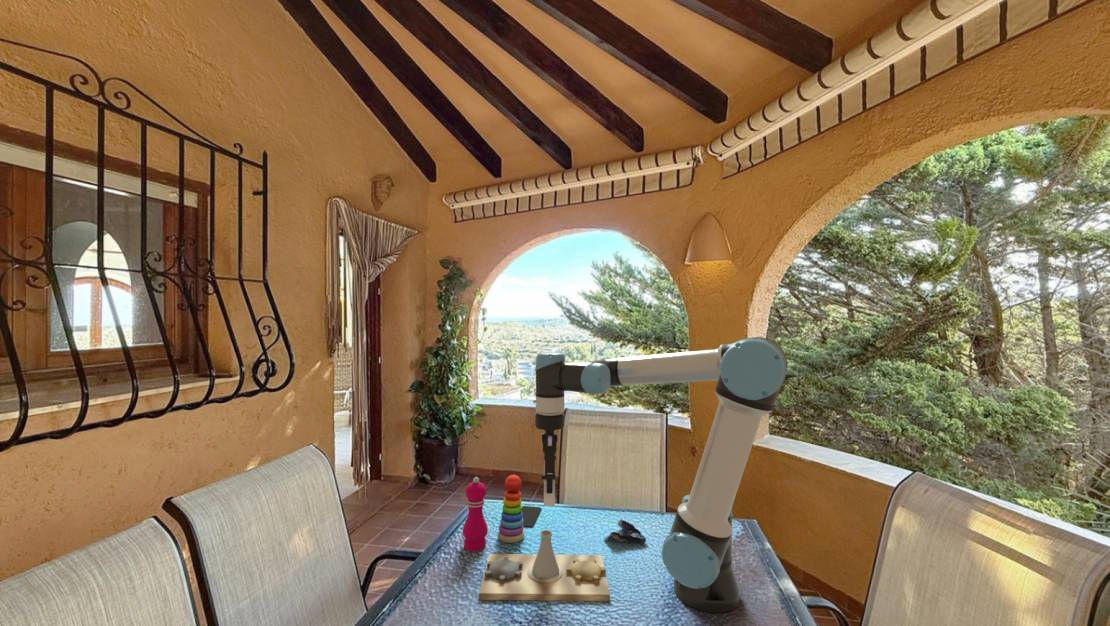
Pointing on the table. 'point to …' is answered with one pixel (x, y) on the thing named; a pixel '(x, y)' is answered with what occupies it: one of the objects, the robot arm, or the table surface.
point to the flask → (545, 558)
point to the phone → (530, 515)
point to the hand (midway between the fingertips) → (548, 494)
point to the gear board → (544, 579)
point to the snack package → (626, 533)
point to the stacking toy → (511, 512)
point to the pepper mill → (475, 517)
